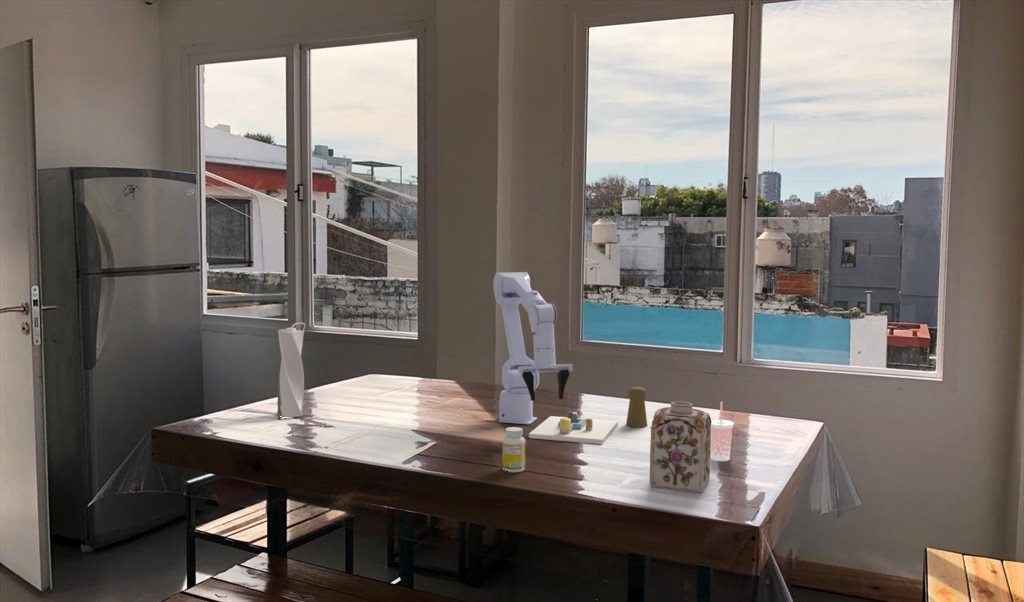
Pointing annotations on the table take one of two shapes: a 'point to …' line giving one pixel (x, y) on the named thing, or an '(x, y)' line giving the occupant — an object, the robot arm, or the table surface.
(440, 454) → the table surface
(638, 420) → the cork
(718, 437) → the beverage cup
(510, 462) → the supplement bottle
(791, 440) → the table surface
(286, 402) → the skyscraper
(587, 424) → the dowel
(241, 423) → the table surface
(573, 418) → the post
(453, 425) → the table surface
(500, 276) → the robot arm
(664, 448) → the decorative jar
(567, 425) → the square ring with handle
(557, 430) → the base plate
